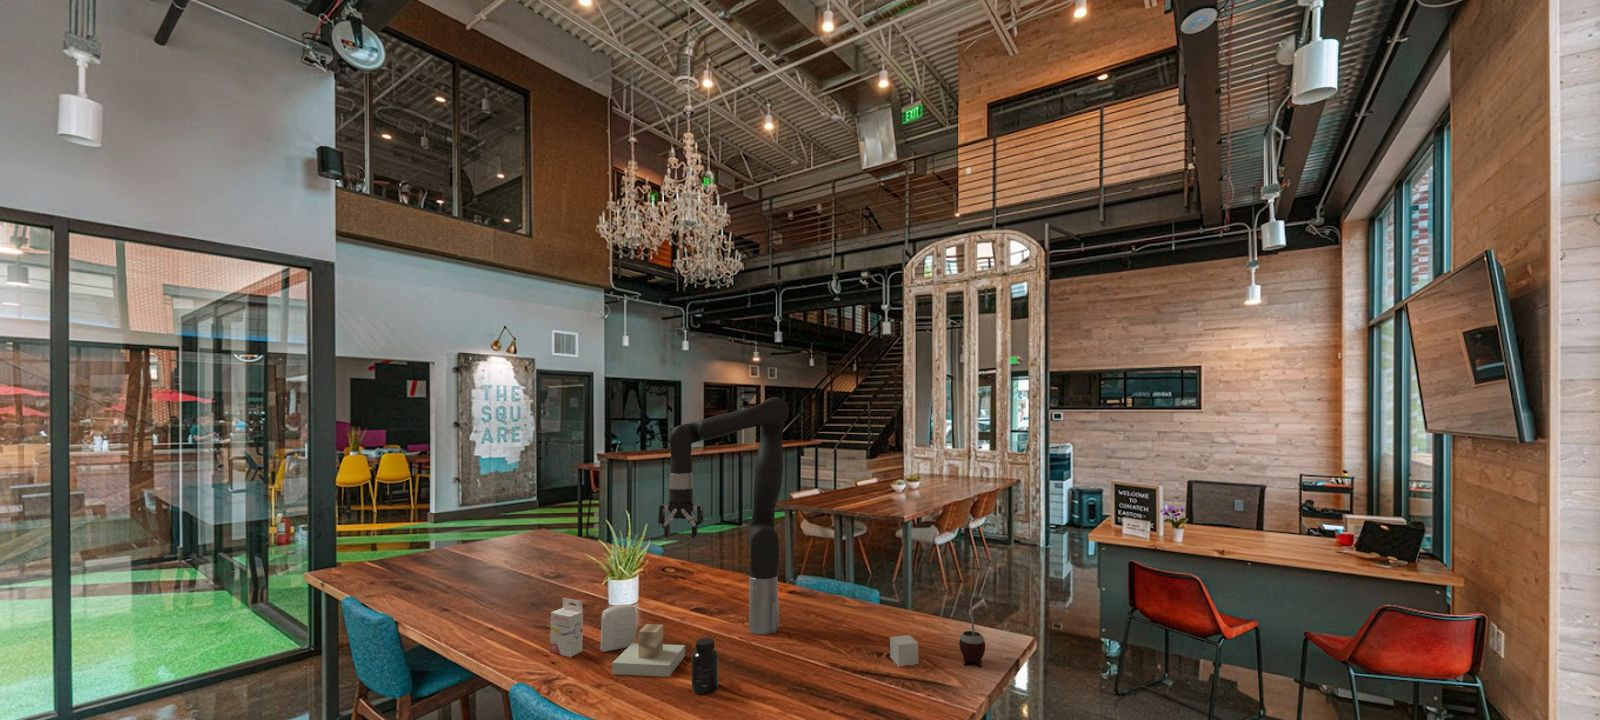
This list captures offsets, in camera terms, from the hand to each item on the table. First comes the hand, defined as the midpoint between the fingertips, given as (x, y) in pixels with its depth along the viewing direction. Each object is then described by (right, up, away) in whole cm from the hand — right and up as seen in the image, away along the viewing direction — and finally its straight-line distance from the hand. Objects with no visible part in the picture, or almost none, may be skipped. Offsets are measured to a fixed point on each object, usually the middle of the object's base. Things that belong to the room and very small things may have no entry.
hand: (680, 537), depth 199 cm
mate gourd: (+87, -28, -26) cm, 95 cm away
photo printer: (-16, -30, -13) cm, 36 cm away
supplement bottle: (+14, -27, -41) cm, 51 cm away
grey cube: (+68, -28, -24) cm, 78 cm away
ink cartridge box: (-31, -29, -17) cm, 46 cm away
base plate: (-4, -28, -26) cm, 39 cm away
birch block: (-4, -25, -26) cm, 36 cm away
